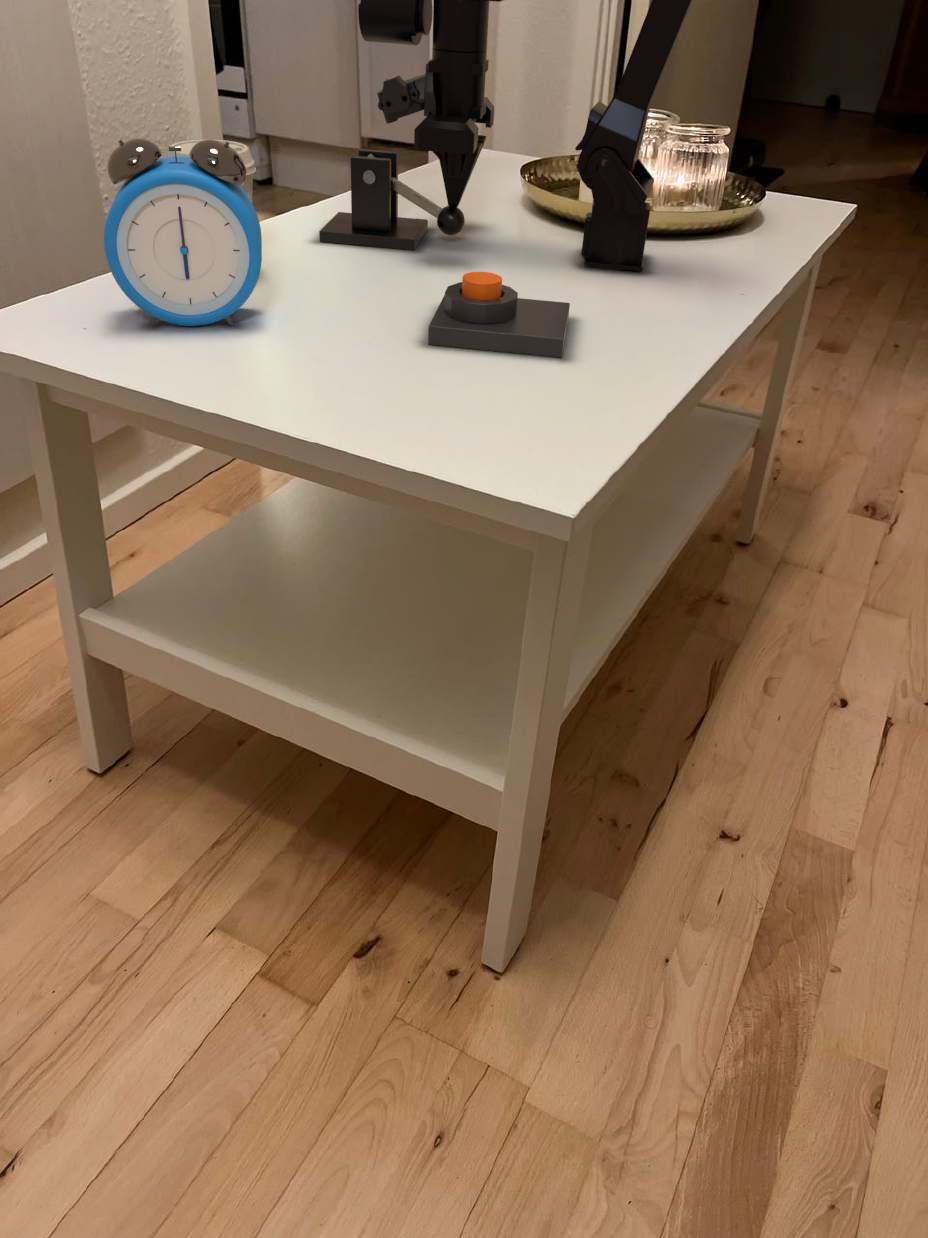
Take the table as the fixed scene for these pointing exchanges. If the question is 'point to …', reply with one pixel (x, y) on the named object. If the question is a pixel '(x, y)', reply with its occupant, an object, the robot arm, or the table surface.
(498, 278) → the button
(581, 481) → the table surface
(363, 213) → the bracket
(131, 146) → the alarm clock
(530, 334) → the button block
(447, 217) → the lever
